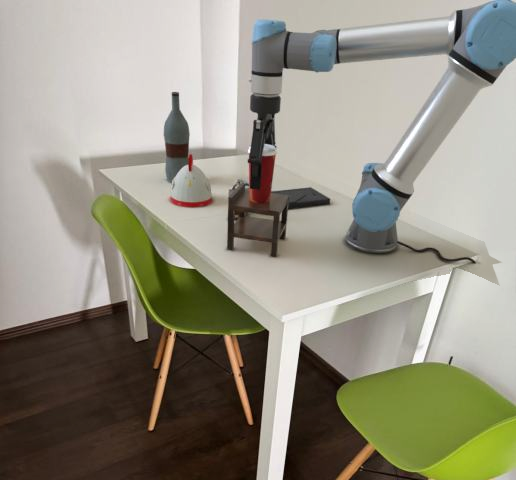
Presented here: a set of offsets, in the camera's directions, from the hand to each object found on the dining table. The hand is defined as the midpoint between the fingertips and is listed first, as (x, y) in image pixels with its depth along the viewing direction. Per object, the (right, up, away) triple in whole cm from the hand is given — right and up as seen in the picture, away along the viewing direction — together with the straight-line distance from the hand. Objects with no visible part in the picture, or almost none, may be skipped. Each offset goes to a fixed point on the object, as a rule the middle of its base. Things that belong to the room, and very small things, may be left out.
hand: (261, 181), depth 136 cm
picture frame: (+13, +7, +43) cm, 46 cm away
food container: (-6, -2, +28) cm, 29 cm away
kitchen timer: (-24, +6, +38) cm, 45 cm away
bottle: (-31, +18, +55) cm, 66 cm away
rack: (-1, -15, +10) cm, 18 cm away
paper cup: (0, -4, +3) cm, 5 cm away
